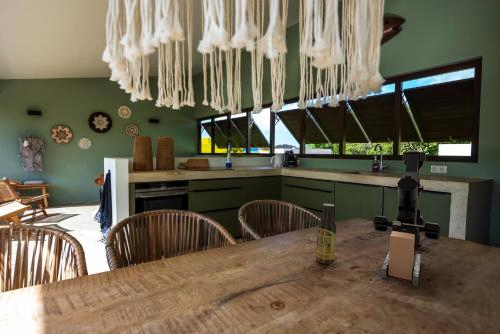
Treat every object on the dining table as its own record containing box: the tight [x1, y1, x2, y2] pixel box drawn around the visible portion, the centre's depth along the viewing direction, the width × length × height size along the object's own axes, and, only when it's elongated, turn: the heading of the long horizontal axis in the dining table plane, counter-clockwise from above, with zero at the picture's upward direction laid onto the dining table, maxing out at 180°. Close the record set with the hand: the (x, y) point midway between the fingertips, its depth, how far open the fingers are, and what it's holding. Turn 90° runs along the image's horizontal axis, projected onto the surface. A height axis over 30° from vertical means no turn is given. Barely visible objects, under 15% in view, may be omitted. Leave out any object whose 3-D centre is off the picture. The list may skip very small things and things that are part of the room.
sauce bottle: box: [315, 203, 337, 265], centre depth 95 cm, size 6×6×20 cm
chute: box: [380, 251, 422, 288], centre depth 86 cm, size 20×9×4 cm, turn 147°
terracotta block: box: [387, 230, 415, 282], centre depth 83 cm, size 6×6×12 cm
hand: (402, 250), depth 86 cm, fingers closed, pressing on terracotta block
